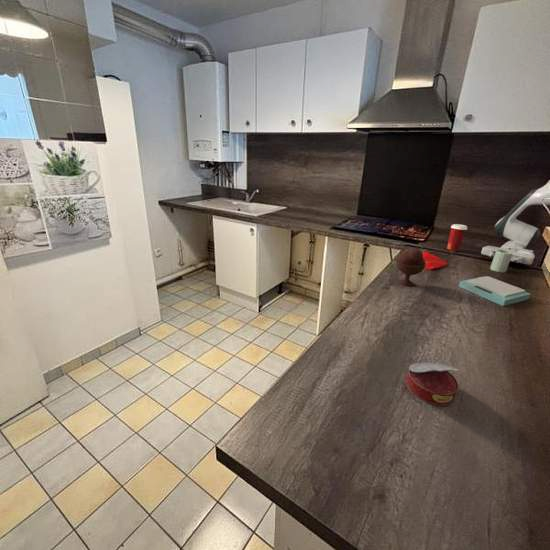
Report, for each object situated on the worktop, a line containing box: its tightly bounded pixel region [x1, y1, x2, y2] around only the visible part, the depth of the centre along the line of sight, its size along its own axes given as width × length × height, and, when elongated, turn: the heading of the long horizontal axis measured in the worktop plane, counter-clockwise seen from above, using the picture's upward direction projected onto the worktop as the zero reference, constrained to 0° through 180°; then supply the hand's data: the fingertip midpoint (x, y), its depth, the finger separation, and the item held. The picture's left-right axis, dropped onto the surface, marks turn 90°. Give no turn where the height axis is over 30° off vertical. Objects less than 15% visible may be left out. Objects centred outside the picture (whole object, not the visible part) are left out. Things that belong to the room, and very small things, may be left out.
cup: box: [489, 250, 513, 273], centre depth 133 cm, size 6×6×9 cm
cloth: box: [422, 251, 448, 271], centre depth 142 cm, size 26×14×2 cm, turn 149°
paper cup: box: [446, 223, 468, 251], centre depth 158 cm, size 8×8×14 cm
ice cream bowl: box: [395, 248, 426, 287], centre depth 115 cm, size 11×11×15 cm
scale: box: [458, 275, 531, 307], centre depth 112 cm, size 17×15×3 cm
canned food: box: [405, 361, 460, 406], centre depth 64 cm, size 11×10×10 cm
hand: (503, 258), depth 136 cm, fingers open, 8 cm apart
